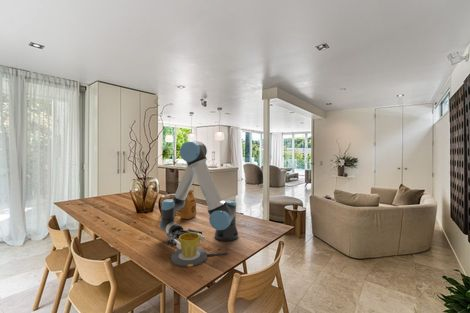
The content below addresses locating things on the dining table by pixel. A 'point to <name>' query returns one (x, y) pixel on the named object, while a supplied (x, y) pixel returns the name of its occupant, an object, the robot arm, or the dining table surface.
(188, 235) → the plant pot
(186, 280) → the dining table surface
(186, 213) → the coffee package
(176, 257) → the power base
